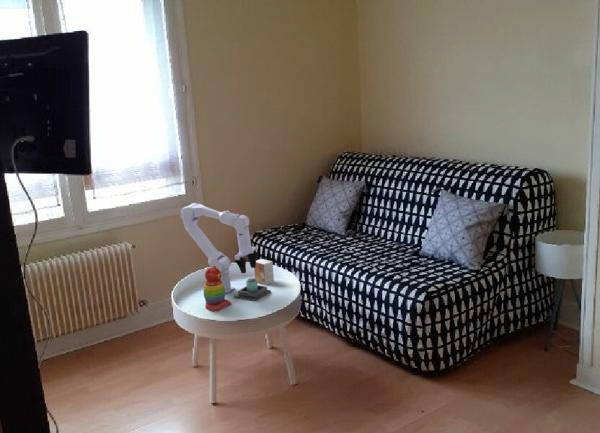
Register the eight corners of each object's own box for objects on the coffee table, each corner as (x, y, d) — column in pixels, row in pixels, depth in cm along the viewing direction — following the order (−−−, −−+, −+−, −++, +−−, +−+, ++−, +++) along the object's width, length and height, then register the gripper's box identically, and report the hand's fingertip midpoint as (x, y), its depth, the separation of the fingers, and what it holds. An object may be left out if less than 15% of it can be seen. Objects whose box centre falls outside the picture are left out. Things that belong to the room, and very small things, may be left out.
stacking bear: (217, 312, 259) (213, 272, 255) (199, 308, 264) (195, 270, 260) (233, 303, 268) (229, 265, 264) (215, 300, 273) (211, 262, 269)
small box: (255, 281, 294) (253, 261, 292) (263, 278, 298) (262, 258, 296) (265, 285, 289) (263, 264, 286) (274, 282, 292) (272, 261, 290)
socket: (234, 297, 275) (233, 291, 274) (249, 289, 285) (249, 283, 284) (256, 301, 269) (255, 294, 268) (271, 292, 278) (270, 286, 278)
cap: (245, 294, 276) (243, 280, 274) (251, 290, 280) (250, 277, 278) (254, 295, 273) (252, 282, 271) (260, 291, 277) (259, 278, 276)
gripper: (242, 246, 268) (246, 275, 271) (260, 237, 280) (264, 265, 283) (229, 246, 272) (233, 274, 274) (248, 237, 284) (252, 265, 286)
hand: (248, 270), depth 279 cm, fingers open, 7 cm apart
